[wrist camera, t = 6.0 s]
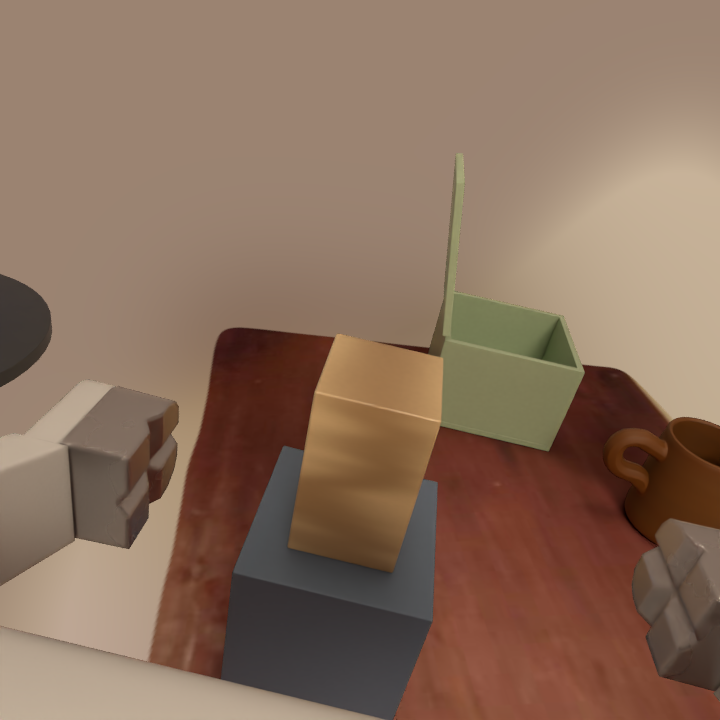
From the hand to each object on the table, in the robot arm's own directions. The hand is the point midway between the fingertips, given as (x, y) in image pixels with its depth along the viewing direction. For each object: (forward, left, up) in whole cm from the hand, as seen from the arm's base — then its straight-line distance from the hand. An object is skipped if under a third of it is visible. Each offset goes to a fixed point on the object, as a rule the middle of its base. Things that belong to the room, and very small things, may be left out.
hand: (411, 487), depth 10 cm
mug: (+25, +34, -28) cm, 51 cm away
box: (+11, +47, -28) cm, 56 cm away
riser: (-1, +11, -28) cm, 30 cm away
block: (-1, +11, -13) cm, 17 cm away
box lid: (+4, +47, -11) cm, 49 cm away
